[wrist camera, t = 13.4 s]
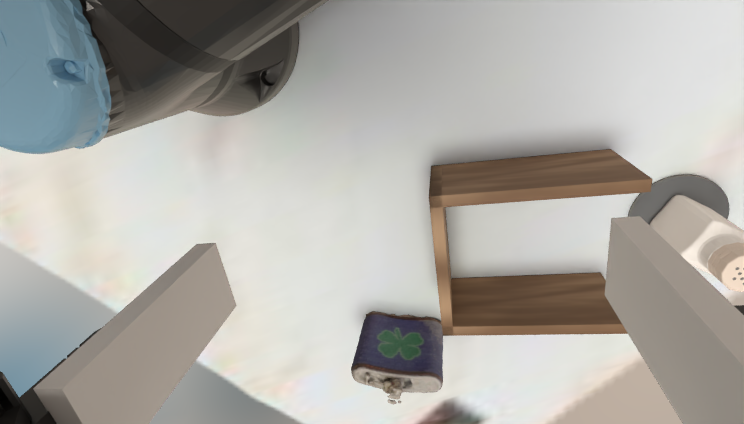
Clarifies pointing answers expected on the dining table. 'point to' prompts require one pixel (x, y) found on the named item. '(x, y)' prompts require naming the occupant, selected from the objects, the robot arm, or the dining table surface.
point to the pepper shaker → (703, 239)
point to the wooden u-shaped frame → (533, 292)
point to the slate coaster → (685, 185)
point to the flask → (399, 354)
